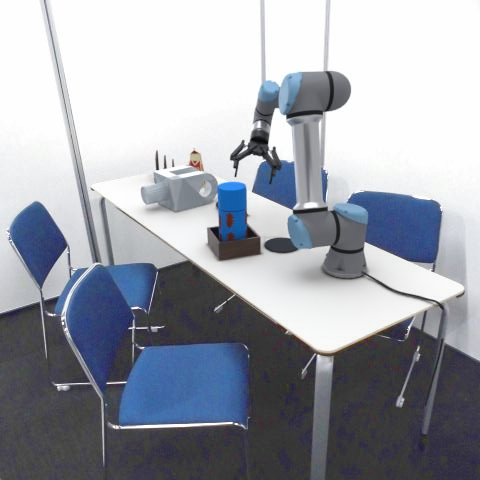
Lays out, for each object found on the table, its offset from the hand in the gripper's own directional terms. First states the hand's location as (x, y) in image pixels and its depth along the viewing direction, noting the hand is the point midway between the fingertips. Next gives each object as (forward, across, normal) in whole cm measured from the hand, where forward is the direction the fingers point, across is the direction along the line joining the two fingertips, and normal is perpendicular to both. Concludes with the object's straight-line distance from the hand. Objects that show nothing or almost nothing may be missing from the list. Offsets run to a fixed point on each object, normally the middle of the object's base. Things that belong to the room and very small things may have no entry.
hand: (253, 178), depth 179 cm
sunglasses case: (-12, +5, -41) cm, 43 cm away
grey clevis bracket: (-19, +32, -52) cm, 64 cm away
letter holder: (-55, +45, -81) cm, 108 cm away
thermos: (+22, +2, -17) cm, 28 cm away
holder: (+22, +2, -17) cm, 28 cm away
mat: (+17, -16, -15) cm, 28 cm away
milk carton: (-45, +26, -69) cm, 86 cm away
